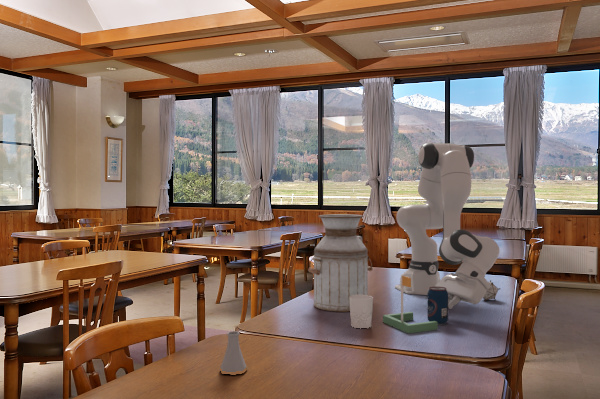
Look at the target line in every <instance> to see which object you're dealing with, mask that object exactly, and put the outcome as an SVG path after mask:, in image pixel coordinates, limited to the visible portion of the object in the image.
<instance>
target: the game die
mask: <svg viewBox="0 0 600 399" xmlns="http://www.w3.org/2000/svg"><path fill="white" fill-rule="evenodd" d="M488 283H489V284H490V288H489V289H488V290H486V294H485V295H484V297H483V298H482V300H484V302H486V301H487V300H494V301H496V300H497V299H496V296H497V294H498V291H499V290H501V288H500V287H499V288H498V287H497V286H496V285H495V284H494V282H492V280H491V279H490V281H488Z"/></svg>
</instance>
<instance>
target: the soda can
mask: <svg viewBox="0 0 600 399" xmlns="http://www.w3.org/2000/svg"><path fill="white" fill-rule="evenodd" d="M426 317H427V321H428V322H430V321H436V322H438V325H439V326H441V325H443V326H444V325H446V324H447V323H448V321H449V308H448V292H447V290H446V288H445V287H430V288H429V291H428V295H427V316H426Z"/></svg>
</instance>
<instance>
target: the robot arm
mask: <svg viewBox="0 0 600 399" xmlns="http://www.w3.org/2000/svg"><path fill="white" fill-rule="evenodd" d="M417 157H418V164H419V165H420V166H421V167H422V169H421V173H420V177H419V182H418V187H417V192H418V194H419V196H420V197H421V198H423V199H425V200H426V201H425V203H424V204H408V205H404V206H401V207H400V208H399V209H398V211H397V212H396V222H397V224H398V226H399V227H400V228H402V229H403V230H404V232H405V233H406V234H407V236H408V238H409V240H410V245H411V260H408V263H409V266H408V268H407V270H405V272H404V271H403V273H402V274H401V275H403V276H405V277H409V278H411V287H407V286H404V285H403V293H405V294H406V295H407V294H409V295H423V296H428V291H429V288H430V287H445V288H446V290H447V292H448V310H449V309H450V310H451V309H453V307H454V306H456V305H457V304H458V303H460V302H465V303H468V304H472V305H477V304H480V303H481V301H482V300H483V297H484V295H485V294H486V290H488V289H489V288H490V284H489V283H488V282H489V281H488V280H487V279H486V278H485V277H486V274H487V272H488V271H489V270H490V269H491V268H492V267H493V266H494V264H495V262H496V261H497V259H498V257H499V255H500V251H501V250H500V247H499V245H498V243H497V242H496V241H495V239H493V238H492V237H489V236H479V235H476V234H473V233H471V232H470V231H468V230H466V229H461V214H462V210H463V208H464V206H465V204H466V202H467V201H468V199H469V197H470V196H471V195H470V194H471V190H472V174H471V168H472V167H473V165H474V162H475V152H474V150H473V148H472V147H470V146H468V145H465V144H456V143H451V142H450V143H448V142H447V143H441V142H440V143H433V142H427V143H423V145H421V146H420V148H419V151H418V156H417ZM440 229H442V231H443V233H442V234H443V236H442V239H441V242H440V245H439V247H438V243H437V242H436V241H435V239H433V238H431V237H430V236H429V235H428V234H427V230H440ZM438 253H439V254H438ZM438 255H439V256H440V258H441V260H442V261H443V262H445V263H446V264H449V265H453V266H455V265H456V266H457V265H459V264H460V266H459V267H458V268H457V270H456V271H455V273H453V272H450V273H449V274H446V275H444V276H443V277H440V272H439V271H438V269H439V265H440V263H439V259H438ZM399 280H400V281H399V284H396V285H394V289H396V290H399V291H400V292H401V277H400V278H399Z"/></svg>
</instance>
